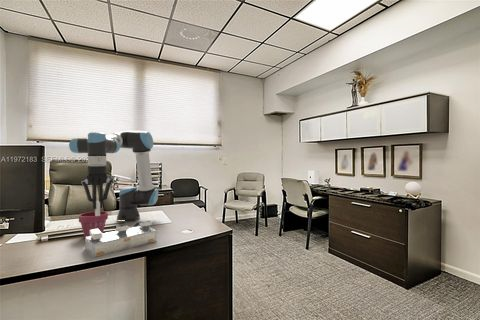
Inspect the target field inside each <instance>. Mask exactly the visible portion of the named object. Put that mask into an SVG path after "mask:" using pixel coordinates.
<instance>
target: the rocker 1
mask: <svg viewBox="0 0 480 320" xmlns="http://www.w3.org/2000/svg"><path fill="white" fill-rule="evenodd" d="M89 234H90V235H91V237H92V238H93V240H95V239H99V238H102V233H101V231H100V230H99V229H98V228H97V229H92V230H90V233H89Z"/></svg>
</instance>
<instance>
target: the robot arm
mask: <svg viewBox="0 0 480 320" xmlns="http://www.w3.org/2000/svg"><path fill="white" fill-rule="evenodd" d="M153 147H154V138H153V135H152V134H151V133H150V132H149V131H144V130H125V131H120V132H119V131H118V132H113V133H111V134H109V135H107V134H106V133H104V132H97V131H96V132H93V131H91V132H89V133H87V137H85V138H79V137H78V138H72V139H70V141H69V143H68V148H69V150H70V151H71V152H72V153H73V154H87V165H88V167H87V176H86V179H84V180H82V181H81V180H80V184H81V185H82V186H83V188H84V192H85V195H86V198H87V199H86V200H87V201H88V202H91V203H92V209H93V210H94V211H95V216H100V211H101V209H103V202H104V201H106V200H108V195H109V192H110V188H111V185H112V184H113V182H114V180H113V179H111V178H109V176H108V175H107V154H116V153H118V152H119V151H120V149H132V153H133V154H135V161H136V169H137V175H138V176H137V177H138V183H139V184H138V187H137V186H130V187H124V188H121V189H120V190H119V196H118V197H119V210H118V213H117V214H116V215H117V217H116V221H117V220H125V221H126V222H127V223H128V222H133V221H137V220H140V218H141V216H140V211H139V209H138V206H154V205H155V204H156V203H157V201H158V197H159V190H158V188H156V185H154V184H153V176H152V167H151V160H150V152H151V151H152V149H153ZM105 182H106V184H105ZM88 184H90V185H91V189H92V190H91V191H90V189H89V186H88ZM104 184H105V188H104V189H103V187H104ZM97 187H98V190H97ZM103 190H104V191H103ZM97 191H98V195H97ZM91 192H92V193H91ZM97 196H98V200H97ZM126 222H125V223H126Z"/></svg>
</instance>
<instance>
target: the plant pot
mask: <svg viewBox="0 0 480 320" xmlns="http://www.w3.org/2000/svg"><path fill="white" fill-rule="evenodd" d="M108 219H109V212H108V211H105V210H100V216H95V210H94V211H87V212H83V213H80V214H78V222H79V224H80V225H81V230H82V232H83V237H84V238H85V237H87V236H91V235H90V234H89V233H90V230H92V229H97V228H98V229H99V230H100V231H101V233H104V231H105V226H106V222H107V220H108Z"/></svg>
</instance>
